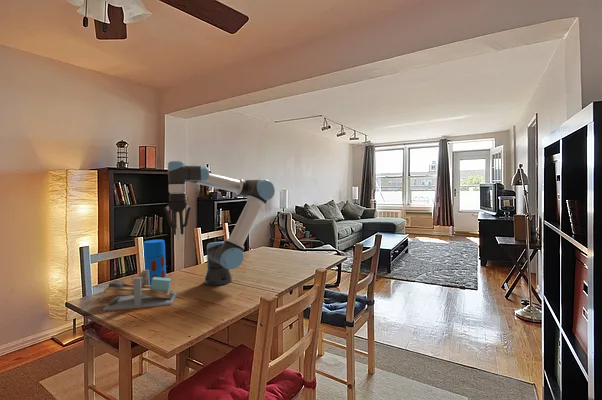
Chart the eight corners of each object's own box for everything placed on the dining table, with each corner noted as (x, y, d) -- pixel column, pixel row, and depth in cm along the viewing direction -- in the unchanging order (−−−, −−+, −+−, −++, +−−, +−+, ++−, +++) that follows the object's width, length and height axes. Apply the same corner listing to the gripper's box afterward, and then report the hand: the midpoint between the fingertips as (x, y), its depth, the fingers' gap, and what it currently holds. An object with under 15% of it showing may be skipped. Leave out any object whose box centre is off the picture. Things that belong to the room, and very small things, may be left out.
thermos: (170, 283, 185) (168, 239, 184) (156, 288, 175) (154, 243, 174) (155, 281, 188) (153, 239, 187) (140, 287, 178) (139, 242, 177)
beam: (172, 290, 164) (174, 274, 163) (167, 298, 152) (170, 280, 152) (112, 285, 158) (115, 268, 158) (102, 293, 146) (105, 275, 146)
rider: (169, 290, 160) (171, 278, 159) (167, 293, 155) (169, 280, 155) (152, 288, 158) (154, 276, 158) (150, 291, 154) (151, 279, 154)
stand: (177, 293, 166) (176, 267, 166) (171, 304, 150) (170, 276, 150) (116, 298, 160) (114, 271, 160) (102, 310, 144) (101, 281, 144)
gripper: (192, 192, 162) (194, 239, 163) (163, 193, 159) (165, 240, 160) (190, 192, 154) (192, 241, 155) (160, 193, 152) (162, 243, 153)
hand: (179, 241), depth 158 cm, fingers closed
